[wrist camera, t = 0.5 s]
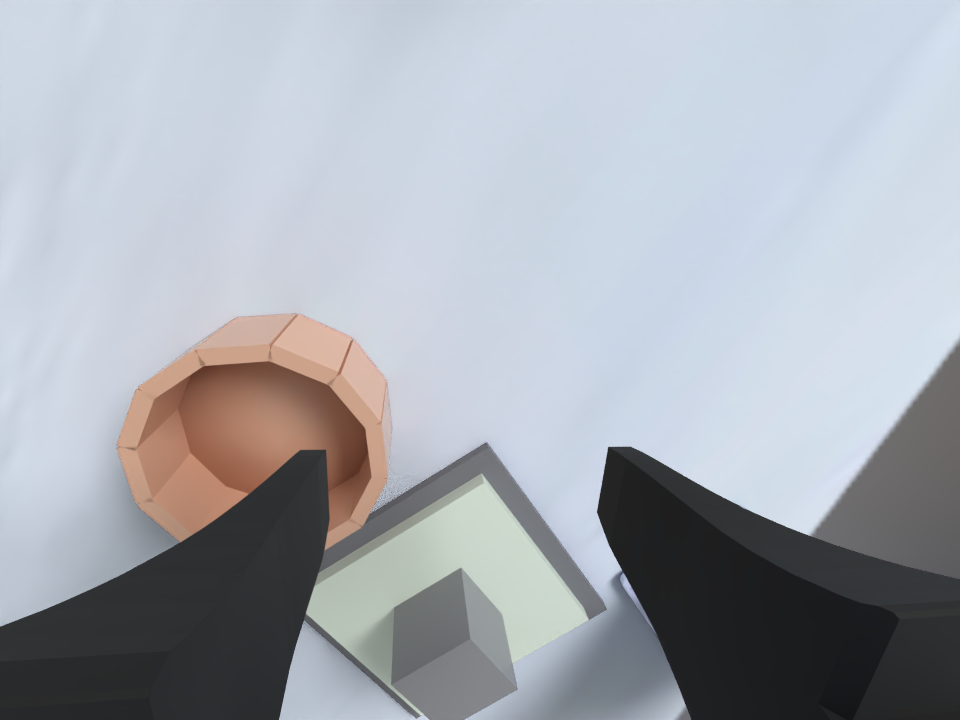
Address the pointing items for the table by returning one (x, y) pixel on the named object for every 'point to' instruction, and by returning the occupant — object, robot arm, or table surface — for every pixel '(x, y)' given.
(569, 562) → the mat
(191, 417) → the tan bowl
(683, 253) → the table surface
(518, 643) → the sheet lid
